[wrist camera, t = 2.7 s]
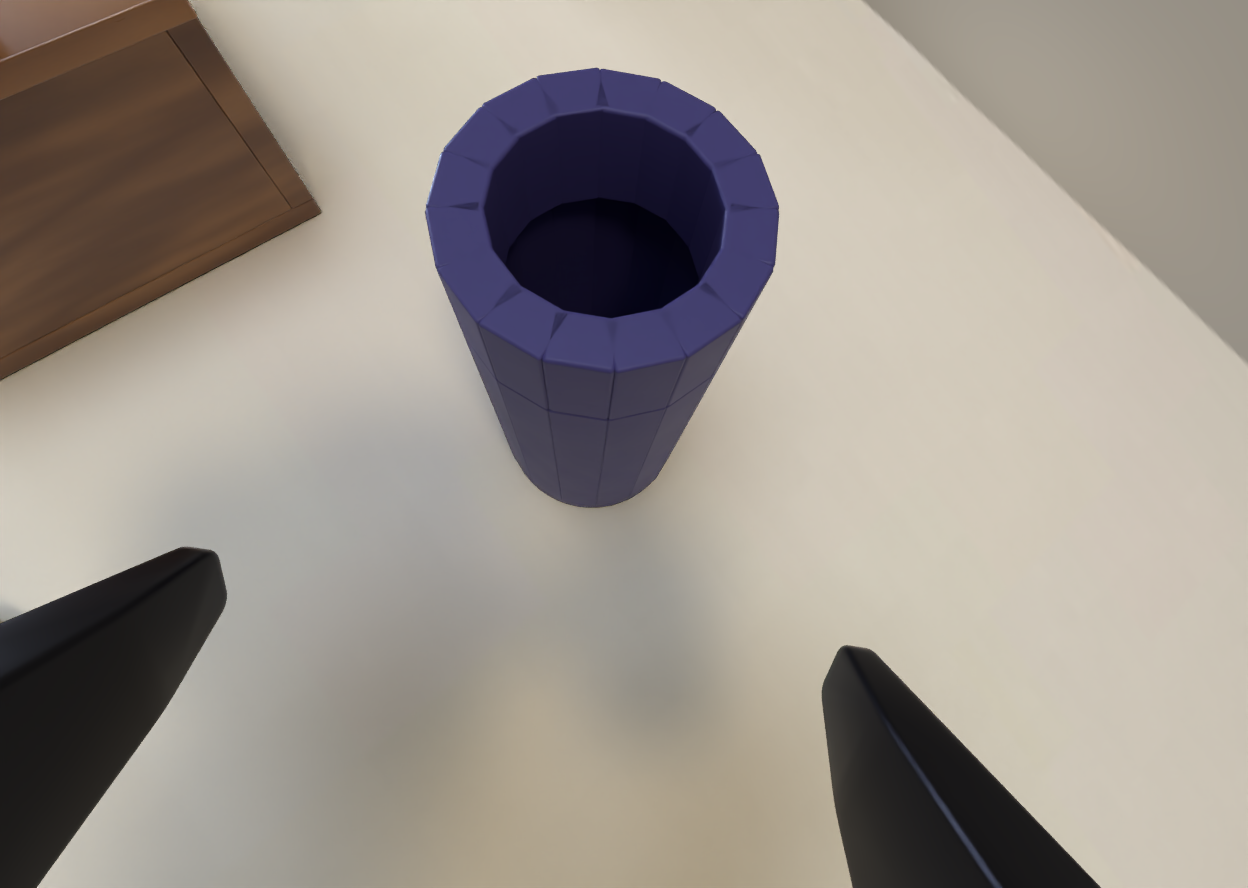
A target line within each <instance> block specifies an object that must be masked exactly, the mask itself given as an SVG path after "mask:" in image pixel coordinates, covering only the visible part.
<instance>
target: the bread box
mask: <svg viewBox="0 0 1248 888" xmlns="http://www.w3.org/2000/svg"><path fill="white" fill-rule="evenodd" d="M320 213H321V210H320V208H319V207H318V205H317V204H316V202H315V201H314V199H313V198H312V196H311V194H310V193H309V191H308V190H307V188H306V186H305V185H304V183H303V182H302V180H301V179H300V177H299V175H298V174H297V172H296V171H295V169H294V168H293V166H292V165H291V163H290V161H289V160H288V158H287V157H286V155H285V154H284V152H283V150H282V149H281V147H280V146H279V144H278V143H277V141H276V140H275V138H274V136H273V135H272V133H271V132H270V130H269V129H268V127H267V125H266V124H265V122H264V121H263V119H262V118H261V116H260V115H259V113H258V111H257V110H256V108H255V107H254V105H253V104H252V102H251V101H250V99H249V97H248V96H247V94H246V93H245V91H244V90H243V88H242V86H241V85H240V83H239V82H238V80H237V79H236V77H235V76H234V74H233V72H232V71H231V69H230V68H229V66H228V65H227V63H226V61H225V60H224V58H223V57H222V55H221V54H220V52H219V51H218V49H217V47H216V46H215V44H214V43H213V41H212V40H211V38H210V36H209V35H208V33H207V32H206V30H205V29H204V27H203V26H202V24H201V22H200V21H199V19H198V18H195V19H193V20H191V21H188V22H186V23H183V24H181V25H179V26H176V27H174V28H171V29H169V30H167V31H164V32H162V33H160V34H157V35H155V36H152V37H150V38H148V39H145V40H143V41H140V42H138V43H136V44H133V45H131V46H129V47H126V48H124V49H121V50H119V51H117V52H114V53H112V54H110V55H107V56H105V57H102V58H100V59H98V60H95V61H93V62H90V63H88V64H86V65H83V66H81V67H79V68H76V69H74V70H71V71H69V72H67V73H64V74H62V75H59V76H57V77H55V78H52V79H50V80H48V81H45V82H43V83H40V84H38V85H36V86H33V87H31V88H28V89H26V90H24V91H21V92H19V93H17V94H14V95H12V96H9V97H7V98H5V99H2V100H0V380H1V379H2V378H4V377H6V376H8V375H10V374H12V373H14V372H16V371H18V370H20V369H22V368H24V367H26V366H27V365H29V364H31V363H33V362H35V361H37V360H39V359H41V358H43V357H45V356H47V355H49V354H50V353H52V352H54V351H56V350H58V349H60V348H62V347H64V346H66V345H68V344H70V343H72V342H74V341H75V340H77V339H79V338H81V337H83V336H85V335H87V334H89V333H91V332H93V331H95V330H97V329H99V328H100V327H102V326H104V325H106V324H108V323H110V322H112V321H114V320H116V319H118V318H120V317H122V316H124V315H125V314H127V313H129V312H131V311H133V310H135V309H137V308H139V307H141V306H143V305H145V304H147V303H149V302H150V301H152V300H154V299H156V298H158V297H160V296H162V295H164V294H166V293H168V292H170V291H172V290H174V289H175V288H177V287H179V286H181V285H183V284H185V283H187V282H189V281H191V280H193V279H195V278H197V277H198V276H200V275H202V274H204V273H206V272H208V271H210V270H212V269H214V268H216V267H218V266H220V265H222V264H223V263H225V262H227V261H229V260H231V259H233V258H235V257H237V256H239V255H241V254H243V253H245V252H247V251H248V250H250V249H252V248H254V247H256V246H258V245H260V244H262V243H264V242H266V241H268V240H270V239H272V238H273V237H275V236H277V235H279V234H281V233H283V232H285V231H287V230H289V229H291V228H293V227H295V226H297V225H298V224H300V223H302V222H304V221H306V220H308V219H310V218H312V217H314V216H316V215H318V214H320Z"/></svg>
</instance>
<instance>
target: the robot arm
mask: <svg viewBox="0 0 1248 888" xmlns="http://www.w3.org/2000/svg"><path fill="white" fill-rule="evenodd" d="M226 600H227V591H226V586H225V582H224V577H223V573H222V569H221V564H220V560H219V557H218V555H217V554H216V553H215V552H214V551H212V550H208V549H201V548H194V547H180V548H178V549H175V550H173V551H170V552H168V553H165V554H163V555H161V556H158V557H156V558H154V559H151V560H149V561H147V562H144V563H142V564H140V565H137V566H135V567H132V568H130V569H128V570H125V571H123V572H121V573H118V574H116V575H114V576H111V577H109V578H106V579H104V580H102V581H99V582H97V583H95V584H92V585H90V586H88V587H85V588H83V589H80V590H78V591H76V592H73V593H71V594H69V595H66V596H64V597H62V598H59V599H57V600H55V601H52V602H50V603H47V604H45V605H43V606H40V607H38V608H36V609H33V610H31V611H29V612H26V613H24V614H21V615H19V616H17V617H14V618H12V619H10V620H7V621H5V622H3V623H0V888H37V886H38V885H39V884H40V882H41V881H42V879H43V878H44V877H45V875H46V874H47V872H48V871H49V870H50V868H51V867H52V866H53V864H54V863H55V861H56V860H57V859H58V857H59V856H60V854H61V853H62V852H63V850H64V849H65V848H66V846H67V845H68V843H69V842H70V841H71V839H72V838H73V836H74V835H75V834H76V832H77V831H78V830H79V828H80V827H81V825H82V824H83V823H84V821H85V820H86V819H87V817H88V816H89V814H90V813H91V812H92V810H93V809H94V807H95V806H96V805H97V803H98V802H99V801H100V799H101V798H102V796H103V795H104V794H105V792H106V791H107V789H108V788H109V787H110V785H111V784H112V783H113V781H114V780H115V778H116V777H117V776H118V774H119V773H120V771H121V770H122V769H123V767H124V766H125V765H126V763H127V762H128V760H129V759H130V758H131V756H132V755H133V753H134V752H135V751H136V749H137V748H138V747H139V745H140V744H141V742H142V741H143V740H144V738H145V737H146V735H147V734H148V733H149V731H150V730H151V729H152V727H153V726H154V724H155V723H156V721H157V720H158V718H159V717H160V716H161V714H162V713H163V711H164V710H165V708H166V706H167V705H168V703H169V702H170V700H171V698H172V697H173V695H174V694H175V692H176V690H177V689H178V687H179V685H180V683H181V682H182V680H183V678H184V677H185V675H186V673H187V671H188V670H189V668H190V666H191V665H192V663H193V661H194V660H195V658H196V656H197V654H198V653H199V651H200V649H201V648H202V646H203V644H204V642H205V641H206V639H207V637H208V636H209V634H210V632H211V630H212V629H213V627H214V625H215V624H216V622H217V620H218V619H219V617H220V615H221V613H222V612H223V609H224V607H225V604H226ZM822 704H823V713H824V721H825V730H826V738H827V746H828V755H829V763H830V772H831V780H832V788H833V795H834V802H835V808H836V813H837V818H838V823H839V828H840V832H841V837H842V841H843V846H844V850H845V855H846V859H847V864H848V868H849V873H850V877H851V881H852V886H853V888H1101V887H1100V886H1099V885H1098V884H1097V883H1096V882H1095V881H1094V880H1093V879H1092V878H1091V877H1090V876H1089V875H1088V874H1087V873H1086V871H1085V870H1084V869H1083V868H1082V867H1081V866H1080V865H1079V864H1078V863H1077V862H1076V861H1075V860H1074V859H1073V858H1072V857H1071V856H1070V855H1069V854H1068V853H1067V852H1066V851H1065V850H1064V849H1063V848H1062V847H1061V846H1060V844H1059V843H1058V842H1057V841H1056V840H1055V839H1054V838H1053V837H1052V836H1051V835H1050V834H1049V833H1048V832H1047V831H1046V830H1045V829H1044V828H1043V827H1042V826H1041V825H1040V824H1039V823H1038V822H1037V821H1036V820H1035V818H1034V817H1033V816H1032V815H1031V814H1030V813H1029V812H1028V811H1027V810H1026V809H1025V808H1024V807H1023V806H1022V805H1021V804H1020V803H1019V802H1018V801H1017V800H1016V799H1015V798H1014V797H1013V796H1012V795H1011V794H1010V793H1009V791H1008V790H1007V789H1006V788H1005V787H1004V786H1003V785H1002V784H1001V783H1000V782H999V781H998V780H997V779H996V778H995V777H994V776H993V775H992V774H991V773H990V772H989V771H988V770H987V769H986V768H985V767H984V766H983V764H982V763H981V762H980V761H979V760H978V759H977V758H976V757H975V756H974V755H973V754H972V753H971V752H970V751H969V750H968V749H967V748H966V747H965V746H964V745H963V744H962V743H961V742H960V741H959V740H958V738H957V737H956V736H955V735H954V734H953V733H952V732H951V731H950V730H949V729H948V728H947V727H946V726H945V725H944V724H943V723H942V722H941V721H940V720H939V719H938V718H937V717H936V716H935V715H934V714H933V713H932V711H931V710H930V709H929V708H928V707H927V706H926V705H925V704H924V703H923V702H922V701H921V700H920V699H919V698H918V697H917V696H916V695H915V694H914V693H913V692H912V691H911V690H910V689H909V688H908V687H907V685H906V684H905V683H904V682H903V681H902V680H901V679H900V678H899V677H898V676H897V675H896V674H895V673H894V672H893V671H892V670H891V669H890V668H889V667H888V666H887V665H886V664H885V663H884V662H883V661H882V660H881V658H880V657H879V656H878V655H877V654H876V653H874V652H873V651H872V650H870V649H867V648H861V647H855V646H848V645H846V646H842V647H841V648H840V649H839V650H838V652H837V654H836V656H835V658H834V661H833V663H832V665H831V667H830V669H829V671H828V673H827V676H826V678H825V680H824V683H823V687H822Z"/></svg>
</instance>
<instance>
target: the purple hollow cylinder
mask: <svg viewBox="0 0 1248 888" xmlns="http://www.w3.org/2000/svg"><path fill="white" fill-rule="evenodd" d="M778 209H779V205H778V202H777V199H776V197H775V194H774V191H773V189H772V186H771V183H770V181H769V178H768V175H767V172H766V170H765V167H764V164H763V162H762V159H761V156H760V155H759V154H757V152H756V150H755V149H754V148H753V147H752V146H751V145H750V143H749V142H748V141H747V140H746V139H745V138H744V137H743V136H742V135H741V134H740V133H739V132H738V130H737V129H736V128H735V127H734V126H733V125H732V124H731V123H730V122H729V121H728V120H727V119H726V117H725V116H724V115H723V114H722V113H721V112H720V111H716V109H715V108H714V107H713V106H711V105H709V104H707V103H705V102H704V101H702V100H700V99H698V98H696V97H694V96H692V95H690V94H688V93H687V92H685V91H683V90H681V89H679V88H677V87H675V86H673V85H672V84H670V83H668V82H665V81H663V82H661V80H660V79H658V78H652V77H646V76H641V75H635V74H629V73H624V72H618V71H612V70H607V69H601V70H599V68H591V69H584V70H577V71H569V72H562V73H555V74H547V75H540V76H537V79H536V78H532V79H530V80H528V81H527V82H525V83H523V84H521V85H519V86H517V87H515V88H513V89H511V90H509V91H507V92H505V93H503V94H501V95H499V96H497V97H495V98H493V99H491V100H489V101H487V102H485V103H484V104H483V105H482V107H480V108H478V109H477V111H476V112H475V113H474V114H473V115H472V116H471V117H470V119H469V120H468V121H467V122H466V123H465V124H464V125H463V127H462V128H461V129H460V130H459V131H458V132H457V134H456V135H455V136H454V137H453V138H452V139H451V140H450V142H449V143H448V144H447V145H446V146H445V147H444V151H443V152H442V153H441V154H440V158H439V161H438V165H437V168H436V172H435V176H434V179H433V183H432V186H431V190H430V193H429V197H428V200H427V204H426V211H425V214H426V220H427V225H428V230H429V235H430V240H431V245H432V250H433V256H434V261H435V266H436V269H437V271H438V274H439V276H440V279H441V281H442V283H443V286H444V288H445V291H446V293H447V296H448V298H449V300H450V303H451V305H452V308H453V310H454V312H455V315H456V317H457V320H458V322H459V325H460V327H461V329H462V332H463V334H464V337H465V339H466V342H467V344H468V347H469V349H470V351H471V354H472V356H473V359H474V361H475V364H476V366H477V368H478V371H479V373H480V376H481V378H482V380H483V383H484V385H485V388H486V390H487V392H488V395H489V397H490V400H491V402H492V405H493V407H494V409H495V412H496V414H497V417H498V419H499V421H500V424H501V426H502V429H503V431H504V433H505V436H506V438H507V441H508V443H509V446H510V448H511V450H512V453H513V455H514V457H515V459H516V460H517V462H518V463H519V465H520V467H521V468H522V470H523V472H524V473H525V475H526V476H527V477H528V478H529V479H530V481H531V482H532V483H533V484H534V485H535V486H537V487H538V488H539V489H540V490H541V491H543V492H544V493H546V494H547V495H549V496H550V497H552V498H554V499H556V500H558V501H561V502H564V503H566V504H570V505H574V506H579V507H604V506H610V505H614V504H617V503H620V502H623V501H625V500H627V499H630V498H632V497H633V496H635V495H636V494H638V493H640V492H641V491H642V490H643V489H645V488H646V487H647V486H648V485H649V484H650V483H651V482H652V481H654V480H655V478H656V477H657V476H658V474H659V472H660V471H661V469H662V467H663V465H664V464H665V462H666V460H667V459H668V457H669V455H670V454H671V452H672V450H673V448H674V447H675V445H676V443H677V441H678V440H679V438H680V436H681V434H682V432H683V431H684V429H685V427H686V425H687V424H688V422H689V420H690V418H691V416H692V415H693V413H694V411H695V409H696V408H697V406H698V404H699V402H700V400H701V399H702V397H703V395H704V393H705V392H706V390H707V388H708V386H709V385H710V383H711V381H712V379H713V377H714V376H715V374H716V372H717V370H718V369H719V367H720V365H721V363H722V361H723V360H724V358H725V356H726V354H727V353H728V351H729V349H730V347H731V345H732V344H733V342H734V340H735V338H736V337H737V335H738V333H739V331H740V329H741V328H742V326H743V324H744V322H745V321H746V319H747V317H748V315H749V313H750V312H751V310H752V308H753V306H754V305H755V303H756V301H757V299H758V297H759V296H760V294H761V292H762V290H763V289H764V287H765V285H766V283H767V281H768V280H769V278H770V276H771V274H772V273H773V267H774V266H775V259H776V246H777V234H778V222H779V211H778Z"/></svg>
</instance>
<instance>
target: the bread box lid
mask: <svg viewBox="0 0 1248 888" xmlns="http://www.w3.org/2000/svg"><path fill="white" fill-rule="evenodd" d="M195 18H197V14H196V12H195V11H194V9H193V8H192V6H191V4H190V3H189V1H188V0H0V100H2V99H5V98H7V97H9V96H12V95H14V94H17V93H19V92H21V91H24V90H26V89H28V88H31V87H33V86H36V85H38V84H40V83H43V82H45V81H48V80H50V79H52V78H55V77H57V76H59V75H62V74H64V73H67V72H69V71H71V70H74V69H76V68H79V67H81V66H83V65H86V64H88V63H90V62H93V61H95V60H98V59H100V58H102V57H105V56H107V55H110V54H112V53H114V52H117V51H119V50H121V49H124V48H126V47H129V46H131V45H133V44H136V43H138V42H140V41H143V40H145V39H148V38H150V37H152V36H155V35H157V34H160V33H162V32H164V31H167V30H169V29H171V28H174V27H176V26H179V25H181V24H183V23H186V22H188V21H191V20H193V19H195Z"/></svg>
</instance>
